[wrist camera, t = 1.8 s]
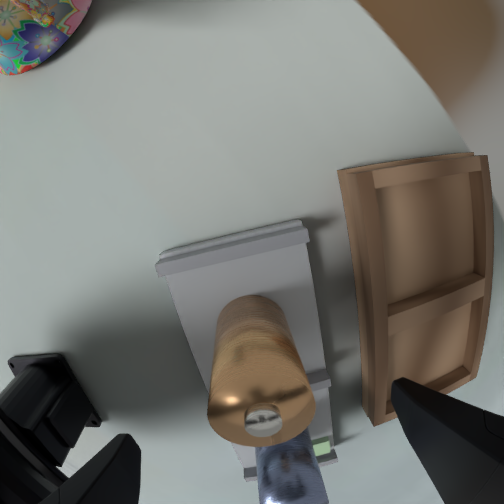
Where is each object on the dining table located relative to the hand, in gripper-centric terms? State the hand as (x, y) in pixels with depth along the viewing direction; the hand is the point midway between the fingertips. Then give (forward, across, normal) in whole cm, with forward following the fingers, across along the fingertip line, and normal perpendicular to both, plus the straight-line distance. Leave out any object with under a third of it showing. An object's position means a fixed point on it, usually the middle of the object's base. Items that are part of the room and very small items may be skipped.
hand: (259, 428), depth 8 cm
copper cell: (+7, 0, 0) cm, 7 cm away
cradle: (+8, 0, +4) cm, 9 cm away
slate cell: (+7, 0, +8) cm, 11 cm away
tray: (+8, -11, +1) cm, 13 cm away
